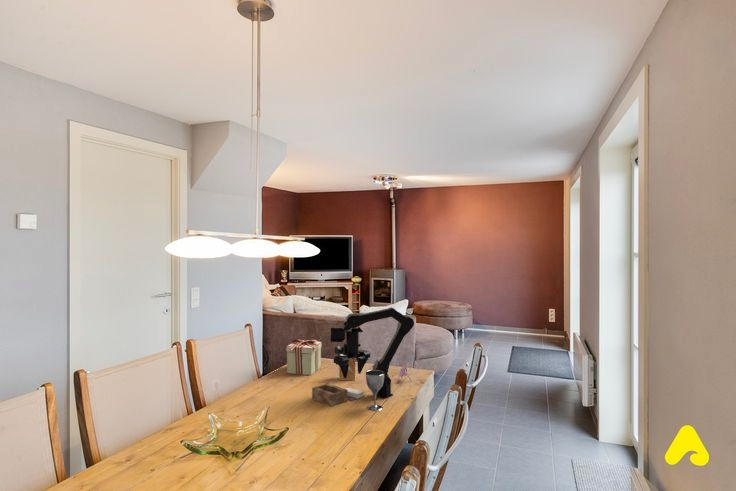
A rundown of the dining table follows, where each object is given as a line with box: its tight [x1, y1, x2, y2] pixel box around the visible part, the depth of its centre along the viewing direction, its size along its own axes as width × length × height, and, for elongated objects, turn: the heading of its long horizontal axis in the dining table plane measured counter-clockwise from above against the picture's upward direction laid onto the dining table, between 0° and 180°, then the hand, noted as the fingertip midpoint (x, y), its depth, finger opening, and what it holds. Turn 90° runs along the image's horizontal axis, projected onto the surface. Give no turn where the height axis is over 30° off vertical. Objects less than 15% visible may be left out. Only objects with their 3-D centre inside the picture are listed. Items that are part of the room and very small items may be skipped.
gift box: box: [285, 338, 323, 376], centre depth 233 cm, size 17×18×17 cm
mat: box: [347, 394, 365, 402], centre depth 194 cm, size 8×8×1 cm
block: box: [345, 387, 364, 400], centre depth 195 cm, size 9×4×2 cm, turn 54°
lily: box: [395, 362, 412, 384], centre depth 217 cm, size 12×12×10 cm
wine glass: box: [365, 369, 384, 412], centre depth 181 cm, size 8×8×15 cm
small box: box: [338, 354, 356, 381], centre depth 220 cm, size 8×6×13 cm
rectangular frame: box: [311, 383, 348, 407], centre depth 189 cm, size 13×9×5 cm
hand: (352, 375), depth 194 cm, fingers open, 9 cm apart
